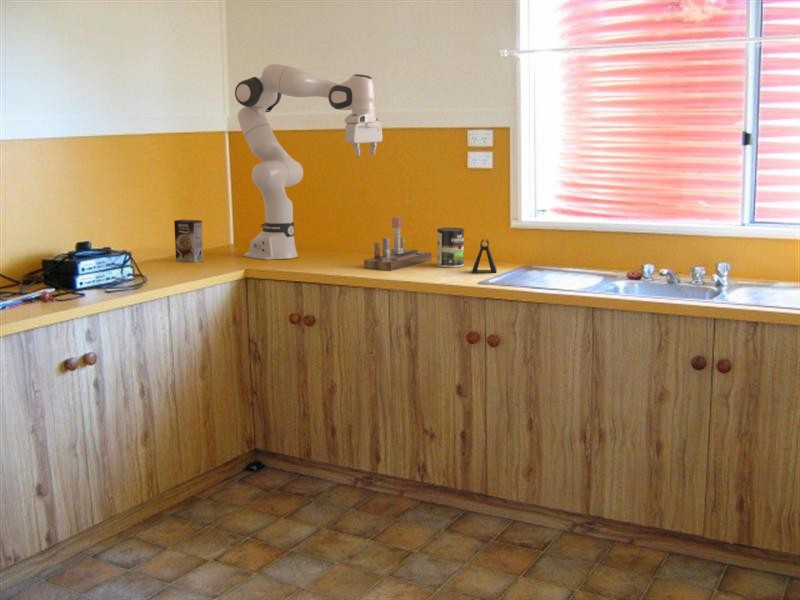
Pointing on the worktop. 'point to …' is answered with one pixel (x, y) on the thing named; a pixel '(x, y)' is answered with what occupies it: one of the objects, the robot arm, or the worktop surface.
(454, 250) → the coffee can
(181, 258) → the coffee box
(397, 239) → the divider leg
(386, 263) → the bolt plate
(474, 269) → the black clip stand
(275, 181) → the robot arm
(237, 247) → the worktop surface
